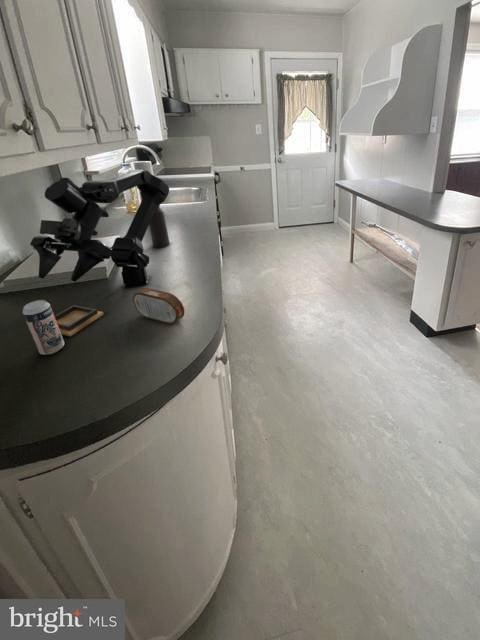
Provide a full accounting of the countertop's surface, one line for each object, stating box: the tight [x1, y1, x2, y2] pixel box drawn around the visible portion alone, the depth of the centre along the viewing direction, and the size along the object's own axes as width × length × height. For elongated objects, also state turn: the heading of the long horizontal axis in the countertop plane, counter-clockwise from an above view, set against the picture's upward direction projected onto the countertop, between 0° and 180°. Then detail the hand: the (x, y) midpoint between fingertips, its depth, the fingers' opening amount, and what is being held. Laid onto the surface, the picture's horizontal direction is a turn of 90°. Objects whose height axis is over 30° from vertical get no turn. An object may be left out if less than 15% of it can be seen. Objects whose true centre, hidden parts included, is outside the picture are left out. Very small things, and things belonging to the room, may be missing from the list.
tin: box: [132, 286, 185, 325], centre depth 79 cm, size 15×3×8 cm, turn 68°
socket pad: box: [54, 304, 105, 337], centre depth 80 cm, size 10×10×2 cm
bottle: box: [148, 204, 170, 248], centre depth 128 cm, size 7×7×20 cm
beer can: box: [22, 299, 65, 356], centre depth 68 cm, size 5×5×12 cm
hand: (56, 279), depth 72 cm, fingers open, 9 cm apart
